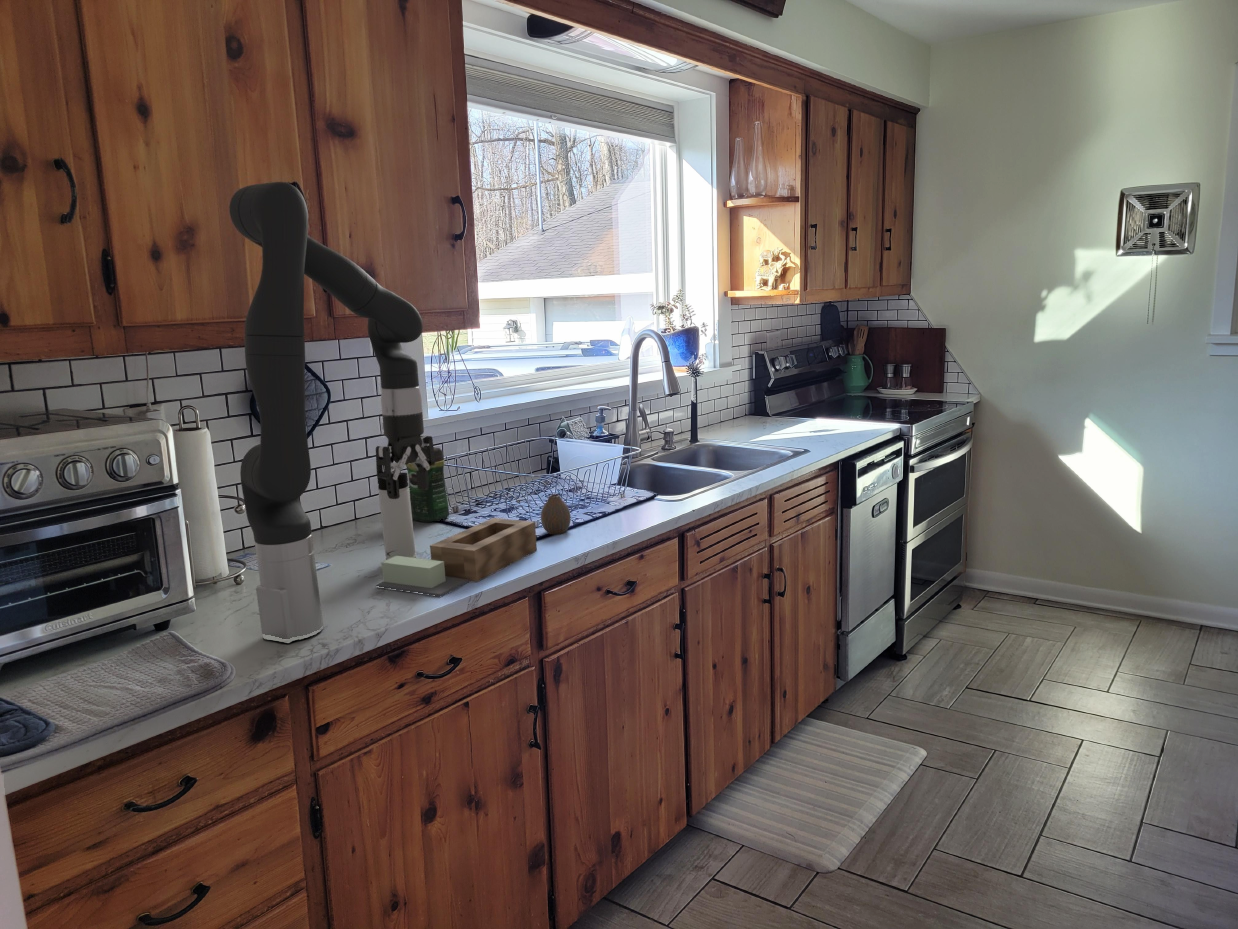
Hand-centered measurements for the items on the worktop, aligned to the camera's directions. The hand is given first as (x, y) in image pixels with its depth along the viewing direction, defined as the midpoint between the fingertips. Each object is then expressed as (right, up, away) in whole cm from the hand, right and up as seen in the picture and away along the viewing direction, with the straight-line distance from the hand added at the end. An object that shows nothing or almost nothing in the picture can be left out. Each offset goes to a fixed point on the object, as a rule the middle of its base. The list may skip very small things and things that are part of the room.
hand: (409, 493), depth 178 cm
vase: (+26, -10, +36) cm, 46 cm away
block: (0, -17, +4) cm, 18 cm away
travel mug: (-6, -16, +18) cm, 25 cm away
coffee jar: (-7, -8, +54) cm, 55 cm away
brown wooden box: (+13, -15, +15) cm, 25 cm away
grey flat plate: (+2, -18, +3) cm, 18 cm away
